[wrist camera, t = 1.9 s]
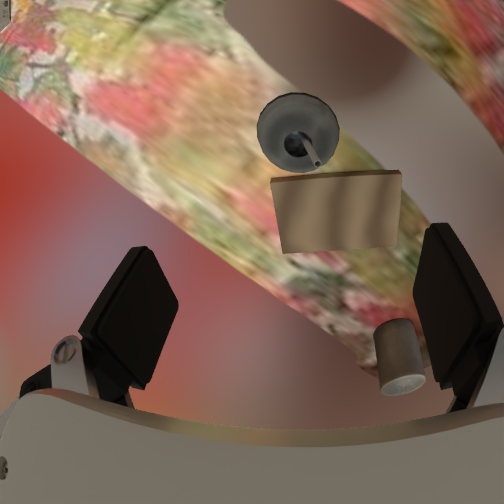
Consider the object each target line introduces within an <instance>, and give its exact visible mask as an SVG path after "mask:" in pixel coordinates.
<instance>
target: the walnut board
mask: <svg viewBox="0 0 504 504" xmlns="http://www.w3.org/2000/svg"><path fill="white" fill-rule="evenodd" d="M401 182H402V174H401V172H400V171H399V170H381V171H358V172H340V173H326V174H313V175H301V176H291V177H281V178H271V181H270V185H271V190H272V196H273V201H274V207H275V212H276V218H277V223H278V229H279V235H280V241H281V246H282V252H283V254H286V253H302V252H317V251H332V250H348V249H363V248H377V247H392V246H396V242H397V234H398V225H399V214H400V202H401V185H402V183H401Z"/></svg>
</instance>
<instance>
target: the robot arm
mask: <svg viewBox="0 0 504 504" xmlns="http://www.w3.org/2000/svg"><path fill="white" fill-rule="evenodd" d="M413 299H414V302H415V305H416V308H417V312H418V315H419V318H420V322H421V325H422V329H423V333H424V336H425V340H426V344H427V348H428V352H429V356H430V360H431V365H432V369H433V374H434V378H435V381H436V382H439V383H440V388H441V390H443V389H447V388H451V387H453V391H454V395H455V396H454V398H453V400H452V402H451V404H450V406H449V408H448V409H447V411H446V413H445V414H442V415H438V416H433V417H428V418H422V419H417V420H411V421H405V422H399V423H393V424H385V425H376V426H367V427H357V428H344V429H325V430H280V429H259V428H245V427H234V426H224V425H216V424H209V423H202V422H195V421H189V420H184V419H178V418H173V417H168V416H163V415H158V414H154V413H149V412H145V411H141V410H137V409H135V408H134V405H133V402H132V399H131V396H130V393H129V390H128V389H129V386H131V387H132V388H136V389H141V390H144V389H145V387H146V384H147V383H149V382H150V380H151V378H152V375H153V372H154V370H155V367H156V364H157V362H158V359H159V357H160V354H161V351H162V349H163V346H164V344H165V341H166V338H167V336H168V333H169V331H170V328H171V325H172V323H173V321H174V318H175V316H176V313H177V311H178V300H177V298H176V296H175V294H174V293H173V291H172V289H171V287H170V285H169V283H168V281H167V279H166V277H165V275H164V273H163V271H162V269H161V267H160V265H159V263H158V261H157V259H156V257H155V255H154V253H153V251H152V250H150V249H149V248H148V247H147V246H141V247H133V248H131V249H130V250H129V251H128V253H127V254H126V256H125V257H124V259H123V260H122V262H121V263H120V264H119V266H118V267H117V269H116V271H115V272H114V274H113V275H112V276H111V278H110V280H109V281H108V283H107V284H106V286H105V287H104V289H103V290H102V292H101V293H100V295H99V297H98V298H97V300H96V302H95V303H94V305H93V306H92V308H91V310H90V312H89V313H88V315H87V316H86V318H85V320H84V321H83V323H82V325H81V327H80V328H79V330H78V332H79V333H80V334H81V335H82V337H83V338H82V340H80V339H79V338H78V337H77V336H74V335H70V336H67V337H64V338H63V339H62V340H61V341H59V342H58V343H57V344H56V346H55V347H54V349H53V351H52V354H51V364H50V365H48V366H47V367H45V368H43V369H42V370H40V371H39V372H37V373H35V374H34V375H32V376H31V377H29V378H28V379H27V380H25V381H24V382H23V384H22V386H21V390H20V397H17V398H16V399H15V400H14V401H13V403H12V404H11V405H10V406H9V407H8V408H7V409H6V410H5V411H4V413H3V414H2V415H1V416H0V504H504V324H503V322H502V317H501V315H500V313H499V311H498V309H497V307H496V304H495V302H494V300H493V299H492V296H491V294H490V292H489V290H488V288H487V287H486V285H485V283H484V281H483V279H482V277H481V276H480V273H479V272H478V270H477V268H476V267H475V265H474V263H473V261H472V260H471V258H470V256H469V254H468V253H467V251H466V250H465V248H464V246H463V245H462V243H461V242H460V241H459V238H458V237H457V235H456V234H455V233H454V231H453V230H452V228H451V226H450V225H449V224H448V223H432V224H431V225H430V228H427V229H426V230H425V235H424V240H423V246H422V251H421V256H420V261H419V265H418V270H417V274H416V278H415V282H414V286H413Z"/></svg>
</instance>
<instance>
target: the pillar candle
mask: <svg viewBox="0 0 504 504" xmlns="http://www.w3.org/2000/svg"><path fill="white" fill-rule="evenodd" d="M373 338H374V341H375V349H376V357H377V365H378V373H379V382H380V391H381V393H382V394H384V395H386V396H396V395H402V394H406V393H409V392H411V391H414V390H416V389H417V388H419V387H421V386H422V384H423V383H425V381H426V377H425V373H424V368H423V363H422V358H421V354H420V349H419V345H418V340H417V337H416V333H415V329H414V326H413V324H412V322H411V321H409V320H407V319H395V320H391V321H389V322H386V323H384V324H382V325H381V326H379V327H378V328H377V329H376V330H375V332H374V334H373Z"/></svg>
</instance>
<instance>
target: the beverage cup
mask: <svg viewBox="0 0 504 504" xmlns="http://www.w3.org/2000/svg"><path fill="white" fill-rule="evenodd" d="M339 129H340V128H339V125H338V121H337V118H336V116H335V114H334V113H333V111H332V110H331V108H330V107H329V106H328V105H327V104H326V103H324V102H323V101H322V100H321V99H319V98H318V97H315V96H312V95H309V94H307V93H288V94H284V95H281V96H278V97H277V98H275V99H274V100H272V101H271V102H269V103H268V104H267V105H266V107H265V108H264V109H263V111H262V112H261V113H260V116H259V120H258V123H257V138H258V141H259V143H260V146H261V148H262V151H263V153H264V154H265V155H266V157H267V158H268V159H269V160H270V162H272V163H273V164H275V165H276V166H278V167H279V168H281V169H283V170H286V171H289V172H295V173H305V172H309V171H313V170H316V169H318V168H319V167H321V166H323V165H324V164H326V163H327V161H328V160H329V159H330V158H331V157H332V156H333V154H334V152H335V149H336V147H337V144H338V141H339Z"/></svg>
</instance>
